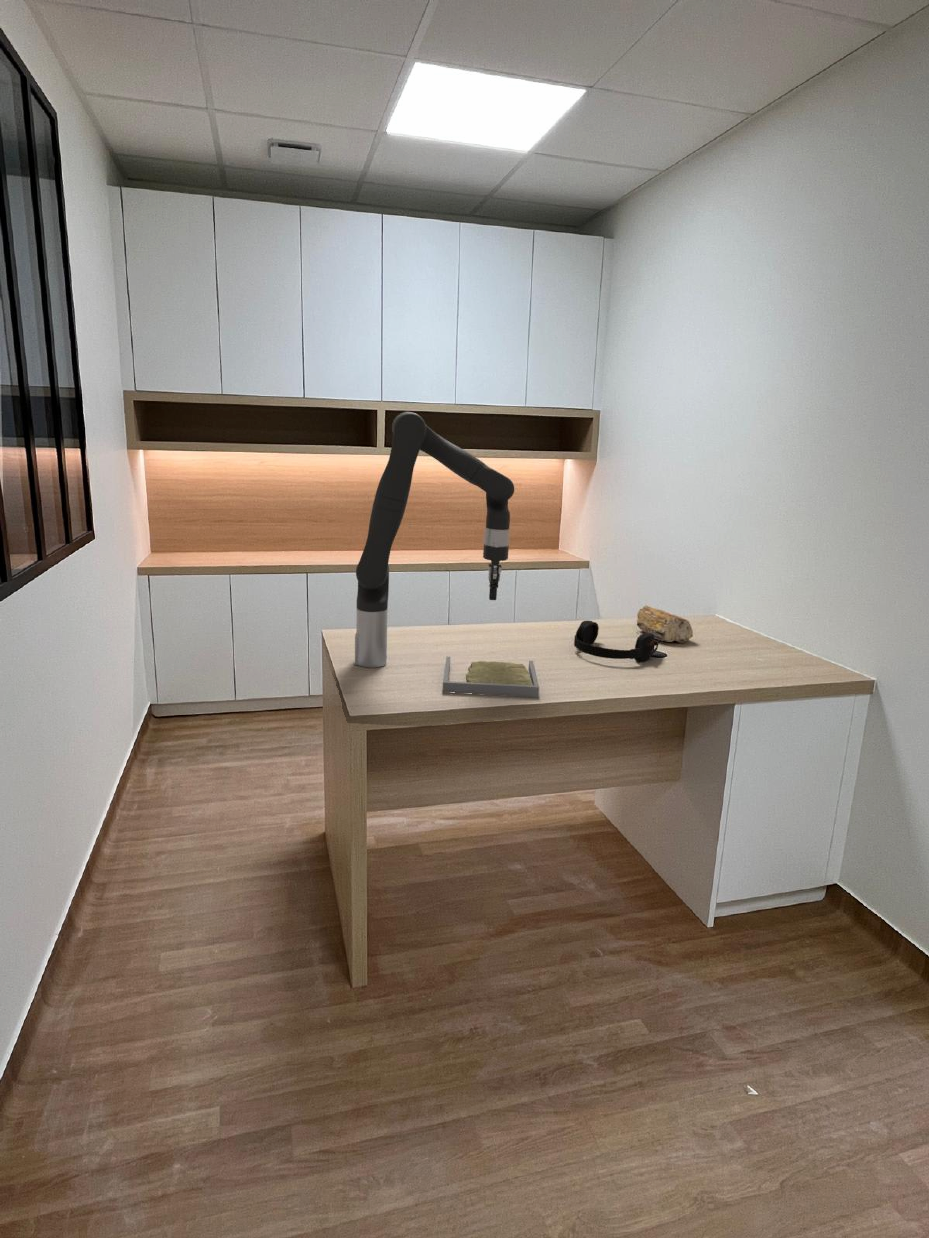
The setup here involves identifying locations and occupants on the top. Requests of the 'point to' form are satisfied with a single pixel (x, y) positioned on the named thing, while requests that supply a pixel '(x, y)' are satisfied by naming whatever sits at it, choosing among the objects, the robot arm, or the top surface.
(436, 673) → the top surface
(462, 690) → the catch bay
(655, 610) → the petrified wood
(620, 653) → the headset
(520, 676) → the decorative tile
